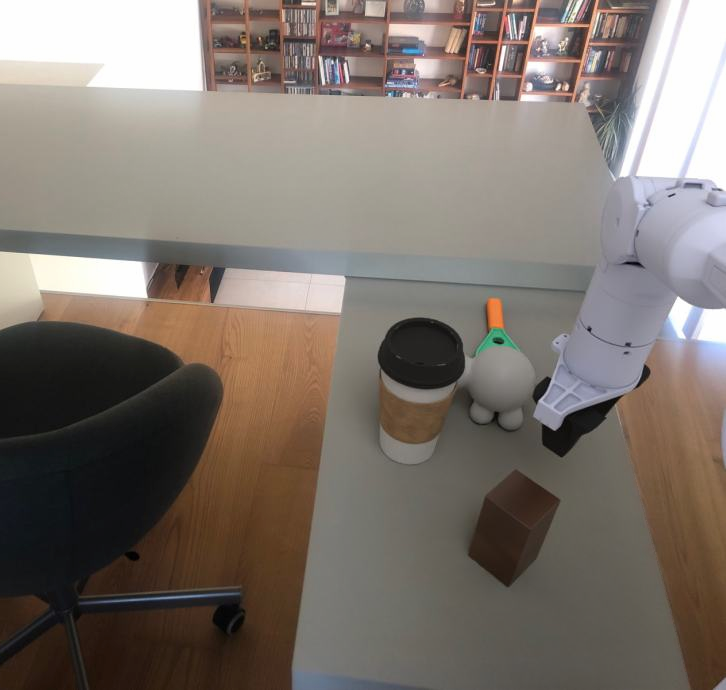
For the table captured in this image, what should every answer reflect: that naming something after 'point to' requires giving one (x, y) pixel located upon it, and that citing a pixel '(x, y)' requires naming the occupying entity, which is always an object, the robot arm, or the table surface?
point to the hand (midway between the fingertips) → (569, 433)
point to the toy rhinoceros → (498, 385)
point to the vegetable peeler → (495, 327)
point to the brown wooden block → (512, 526)
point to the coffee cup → (416, 386)
